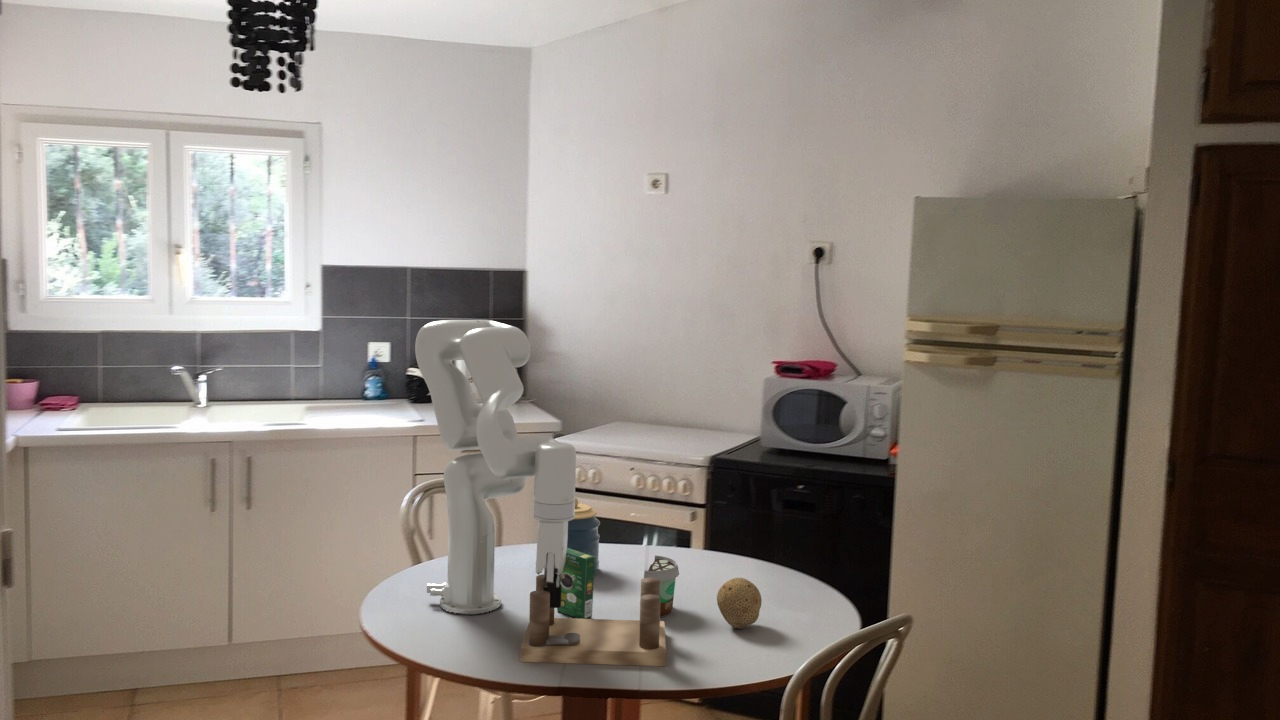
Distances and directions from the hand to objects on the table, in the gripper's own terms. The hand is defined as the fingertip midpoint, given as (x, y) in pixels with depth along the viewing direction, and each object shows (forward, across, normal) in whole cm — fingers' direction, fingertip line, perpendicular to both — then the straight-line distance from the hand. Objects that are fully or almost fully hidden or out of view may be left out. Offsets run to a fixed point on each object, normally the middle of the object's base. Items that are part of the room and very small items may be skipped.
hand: (552, 606), depth 186 cm
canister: (+8, -46, 0) cm, 46 cm away
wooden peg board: (+8, 0, +8) cm, 11 cm away
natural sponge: (+8, -13, +36) cm, 39 cm away
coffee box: (+8, -17, +3) cm, 19 cm away
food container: (+8, -21, +21) cm, 31 cm away
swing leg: (+5, +6, +1) cm, 7 cm away
